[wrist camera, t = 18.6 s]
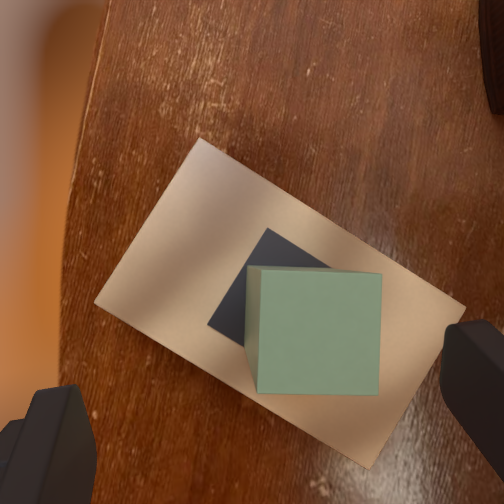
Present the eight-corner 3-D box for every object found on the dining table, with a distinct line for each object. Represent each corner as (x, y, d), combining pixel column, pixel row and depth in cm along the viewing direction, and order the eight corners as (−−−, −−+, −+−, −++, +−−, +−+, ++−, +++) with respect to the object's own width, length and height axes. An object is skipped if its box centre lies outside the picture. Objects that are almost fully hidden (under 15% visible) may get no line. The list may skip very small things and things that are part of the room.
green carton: (243, 346, 29) (256, 394, 19) (246, 265, 29) (260, 269, 19) (324, 348, 29) (379, 396, 19) (327, 267, 29) (383, 273, 19)
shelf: (117, 294, 36) (92, 303, 28) (203, 159, 36) (198, 135, 29) (340, 430, 37) (370, 472, 29) (420, 297, 37) (468, 307, 30)
